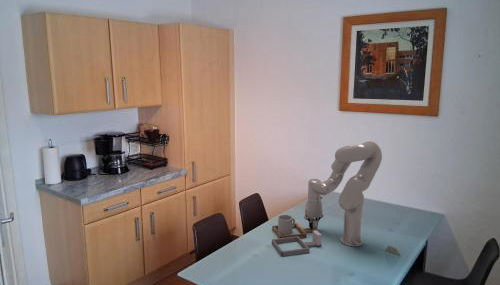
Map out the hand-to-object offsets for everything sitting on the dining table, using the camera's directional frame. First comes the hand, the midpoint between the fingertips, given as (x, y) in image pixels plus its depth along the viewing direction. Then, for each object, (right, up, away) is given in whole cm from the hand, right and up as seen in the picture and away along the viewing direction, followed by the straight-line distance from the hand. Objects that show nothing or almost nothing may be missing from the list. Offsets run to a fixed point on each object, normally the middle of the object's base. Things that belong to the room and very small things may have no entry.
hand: (313, 227), depth 230 cm
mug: (-17, -3, -4) cm, 17 cm away
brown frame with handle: (-11, -3, -2) cm, 11 cm away
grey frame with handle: (-12, -6, -21) cm, 25 cm away
